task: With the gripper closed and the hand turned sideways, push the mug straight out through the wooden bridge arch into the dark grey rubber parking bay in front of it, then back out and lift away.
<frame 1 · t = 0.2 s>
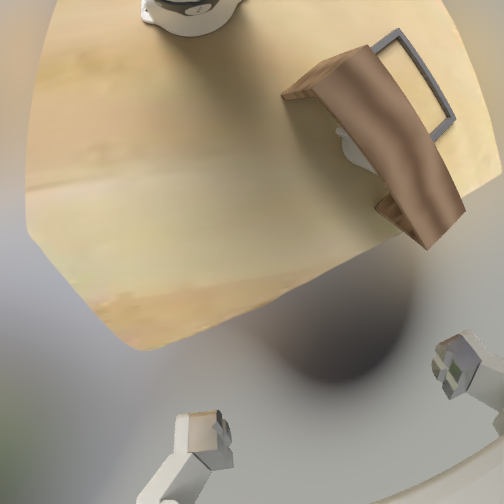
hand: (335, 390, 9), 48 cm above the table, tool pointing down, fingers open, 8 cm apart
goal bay: (403, 95, 49), on the table
wooden bridge arch: (353, 139, 52), on the table
mug: (353, 139, 52), on the table
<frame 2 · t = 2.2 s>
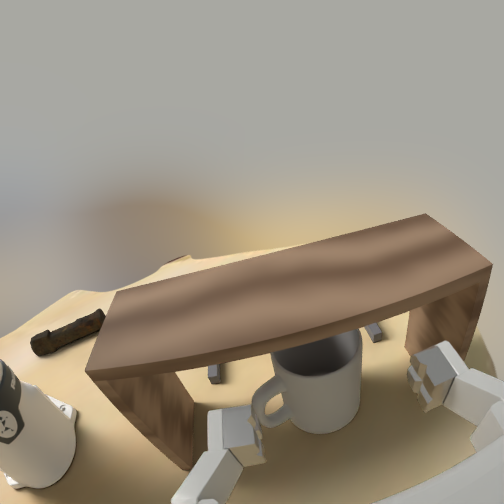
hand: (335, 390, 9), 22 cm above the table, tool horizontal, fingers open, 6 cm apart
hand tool: (72, 344, 51), on the table
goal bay: (287, 327, 44), on the table
wooden bridge arch: (311, 411, 31), on the table
mug: (311, 412, 31), on the table
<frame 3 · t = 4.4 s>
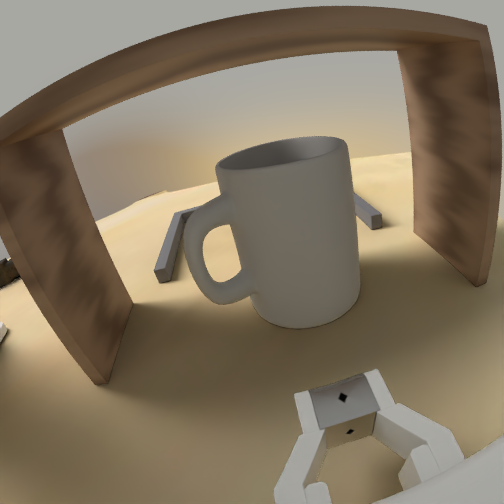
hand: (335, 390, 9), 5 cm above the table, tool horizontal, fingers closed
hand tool: (28, 274, 43), on the table
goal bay: (262, 225, 36), on the table
wooden bridge arch: (288, 301, 23), on the table
mug: (289, 304, 23), on the table
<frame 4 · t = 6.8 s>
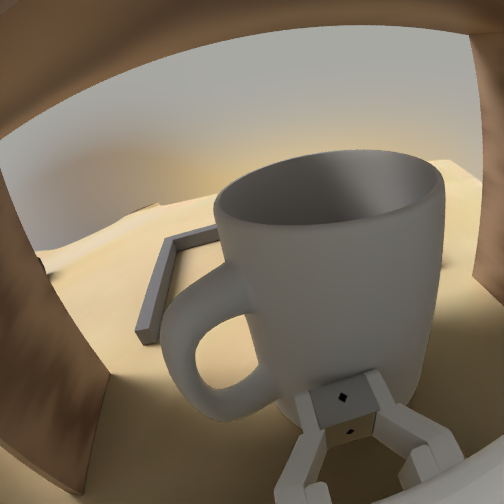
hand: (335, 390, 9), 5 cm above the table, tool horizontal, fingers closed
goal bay: (276, 260, 28), on the table
wooden bridge arch: (323, 396, 15), on the table
mug: (322, 392, 15), on the table, touching gripper
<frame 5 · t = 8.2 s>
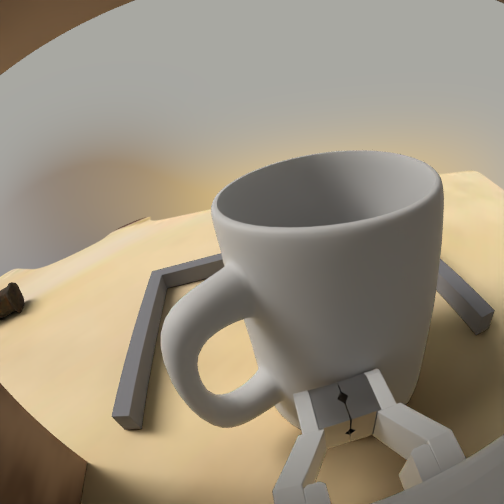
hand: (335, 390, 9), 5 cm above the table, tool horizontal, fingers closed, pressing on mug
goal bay: (293, 312, 21), on the table
mug: (321, 394, 15), on the table, touching gripper
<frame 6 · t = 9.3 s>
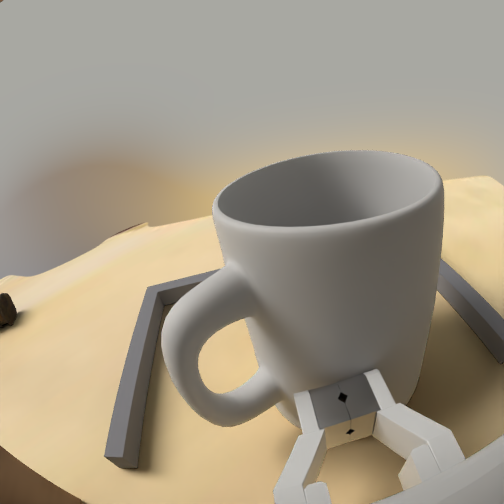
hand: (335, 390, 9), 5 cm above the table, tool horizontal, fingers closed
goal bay: (303, 339, 19), on the table
mug: (321, 393, 15), on the table, touching gripper
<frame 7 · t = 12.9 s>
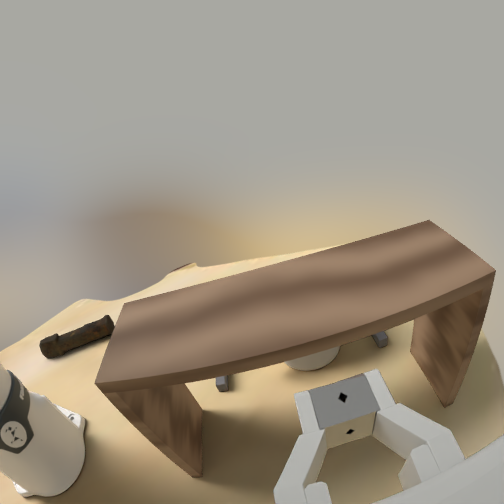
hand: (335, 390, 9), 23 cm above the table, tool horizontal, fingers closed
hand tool: (80, 348, 53), on the table
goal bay: (294, 334, 44), on the table
wooden bridge arch: (318, 417, 30), on the table
mug: (300, 356, 40), on the table
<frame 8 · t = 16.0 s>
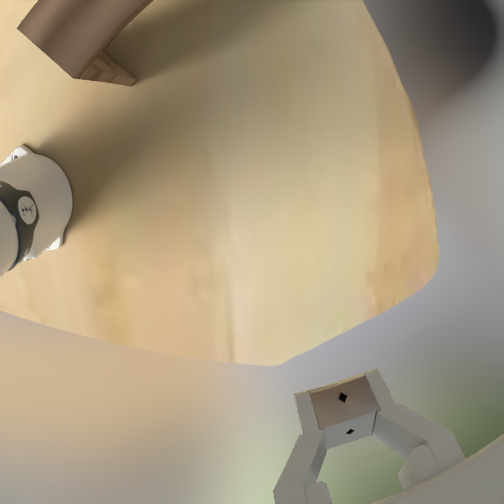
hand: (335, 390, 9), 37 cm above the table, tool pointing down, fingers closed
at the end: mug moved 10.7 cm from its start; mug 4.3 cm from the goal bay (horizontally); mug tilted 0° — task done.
